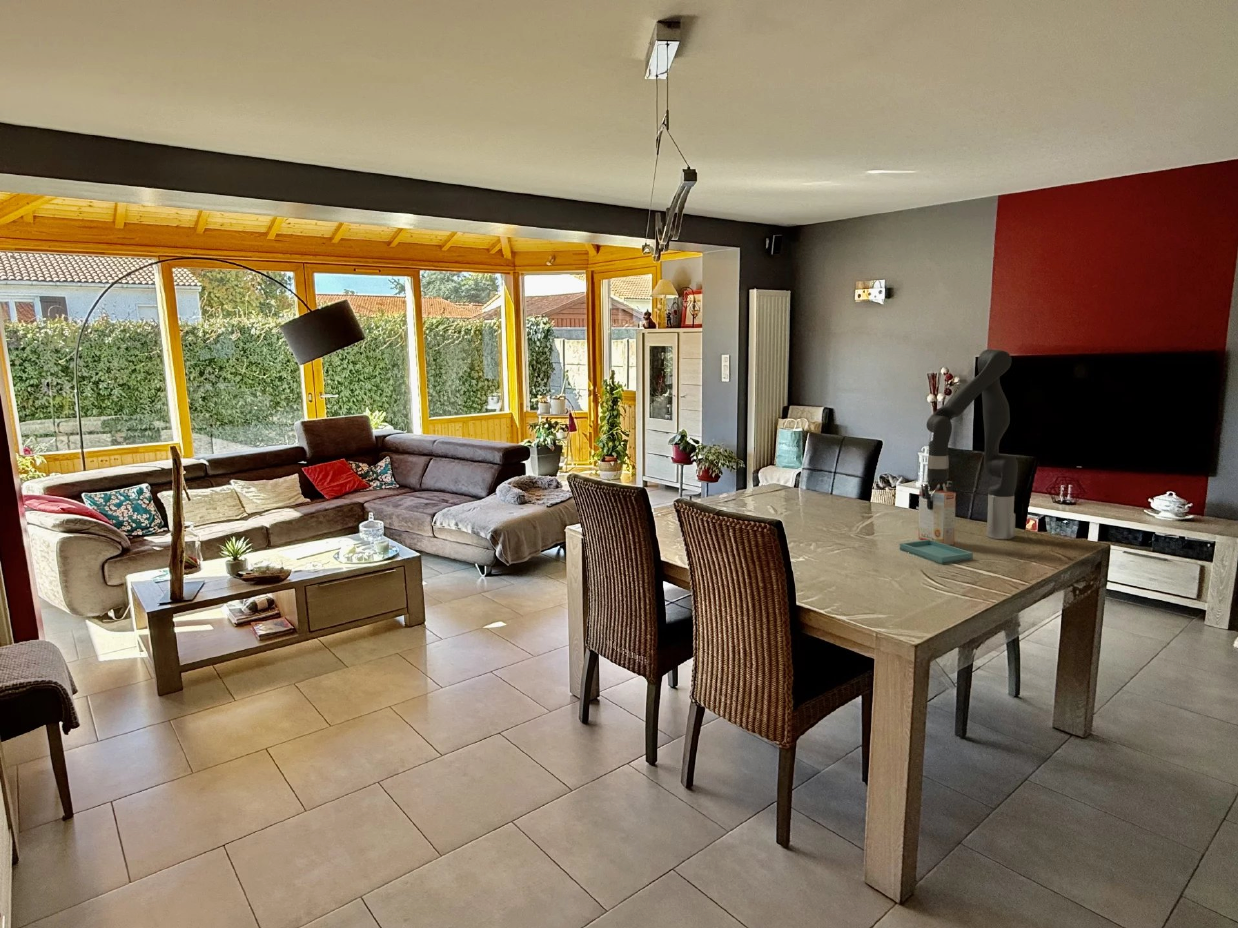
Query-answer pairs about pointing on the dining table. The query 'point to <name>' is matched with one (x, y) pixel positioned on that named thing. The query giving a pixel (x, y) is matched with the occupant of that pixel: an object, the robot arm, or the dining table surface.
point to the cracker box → (937, 518)
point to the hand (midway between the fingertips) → (936, 508)
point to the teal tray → (936, 551)
